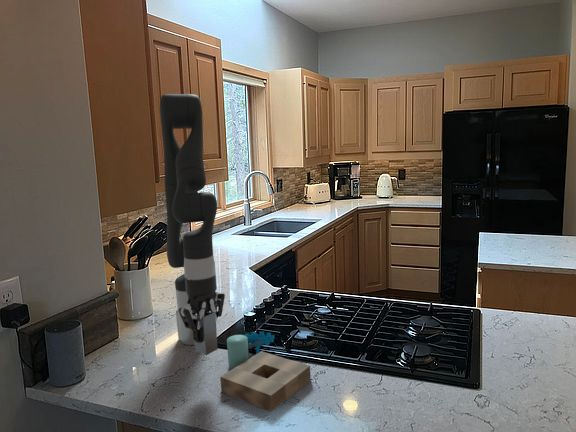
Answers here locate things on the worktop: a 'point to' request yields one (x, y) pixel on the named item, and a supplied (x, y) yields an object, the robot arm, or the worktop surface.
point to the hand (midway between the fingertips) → (205, 338)
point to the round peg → (237, 350)
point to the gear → (259, 340)
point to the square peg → (207, 334)
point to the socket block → (265, 380)
